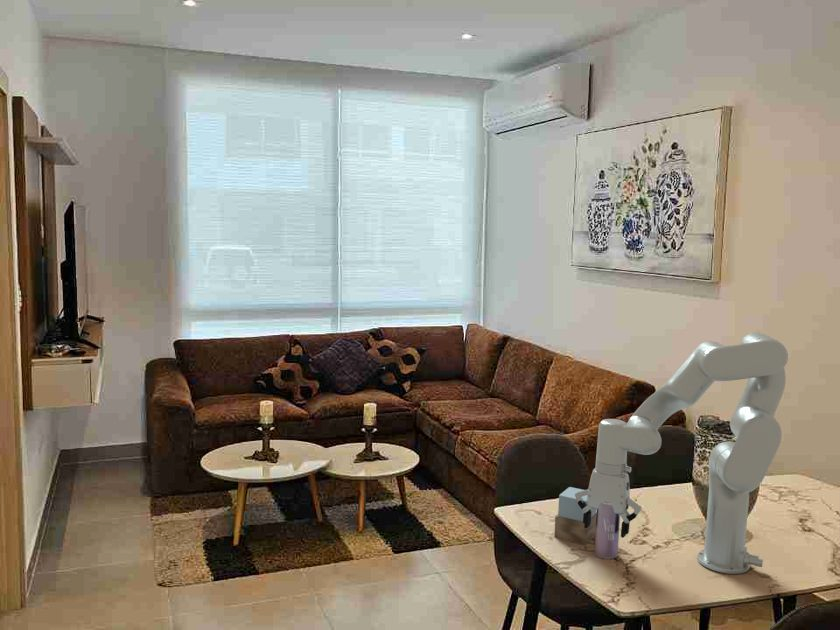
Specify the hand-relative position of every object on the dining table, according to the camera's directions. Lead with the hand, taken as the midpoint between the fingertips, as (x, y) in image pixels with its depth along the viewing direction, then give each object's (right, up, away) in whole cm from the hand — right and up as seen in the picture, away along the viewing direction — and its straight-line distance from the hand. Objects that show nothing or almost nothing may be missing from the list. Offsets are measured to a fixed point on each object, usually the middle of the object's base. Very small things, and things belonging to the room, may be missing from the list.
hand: (605, 531), depth 200 cm
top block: (-5, +1, +12) cm, 13 cm away
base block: (-5, -5, +13) cm, 15 cm away
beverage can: (0, -7, +1) cm, 7 cm away
